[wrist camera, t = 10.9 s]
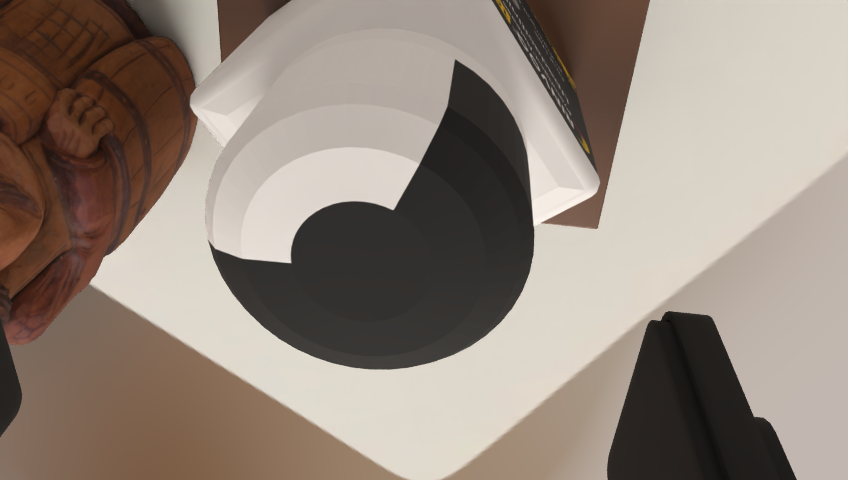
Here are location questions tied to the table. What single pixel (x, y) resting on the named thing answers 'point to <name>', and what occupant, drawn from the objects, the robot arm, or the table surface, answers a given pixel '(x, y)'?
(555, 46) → the walnut shelf
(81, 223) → the wooden figurine
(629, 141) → the table surface
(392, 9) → the medicine bottle
